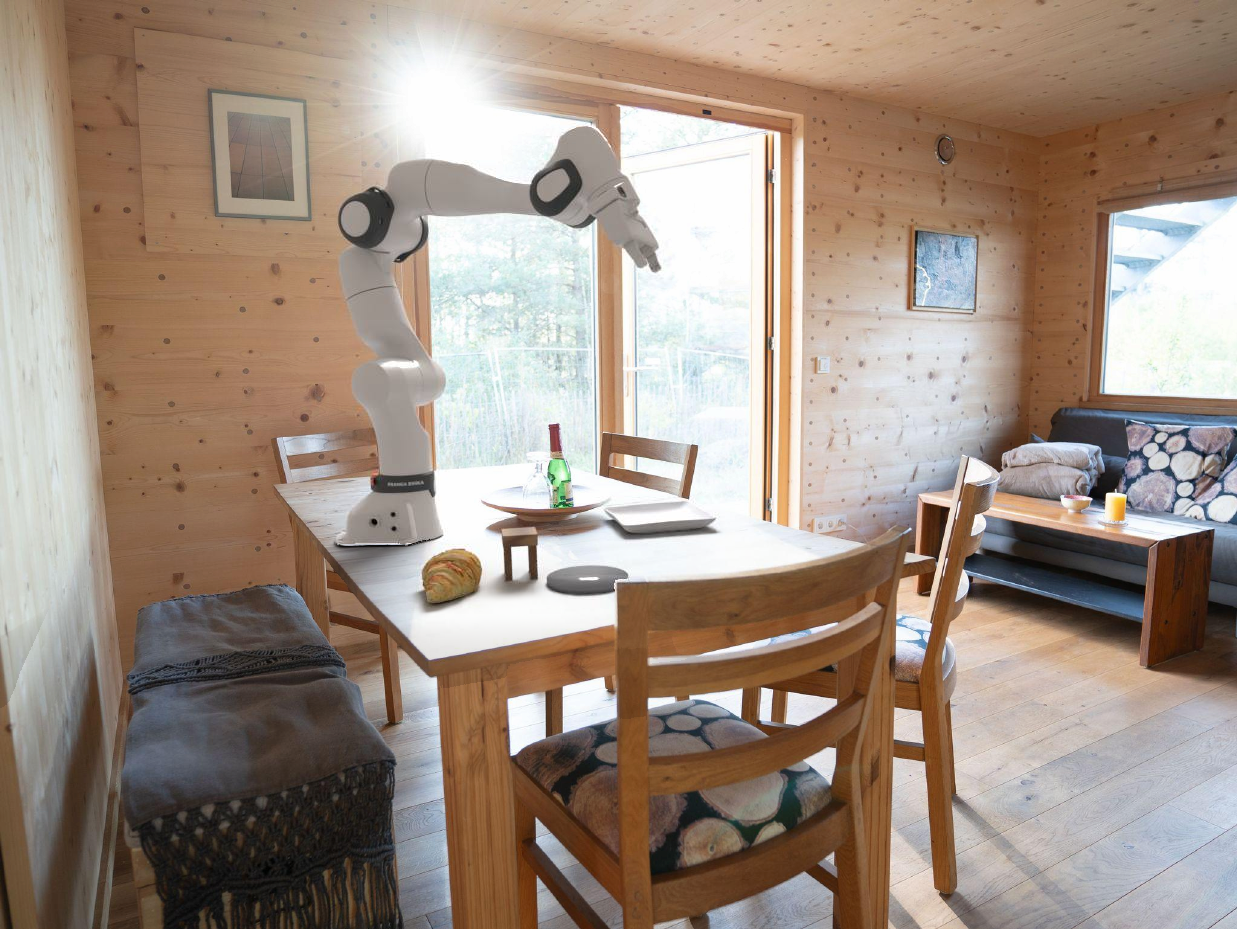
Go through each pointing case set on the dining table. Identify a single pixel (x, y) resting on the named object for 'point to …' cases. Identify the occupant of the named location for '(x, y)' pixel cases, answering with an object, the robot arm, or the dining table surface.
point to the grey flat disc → (585, 579)
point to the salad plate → (660, 517)
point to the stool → (517, 539)
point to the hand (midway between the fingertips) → (650, 268)
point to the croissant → (451, 575)
